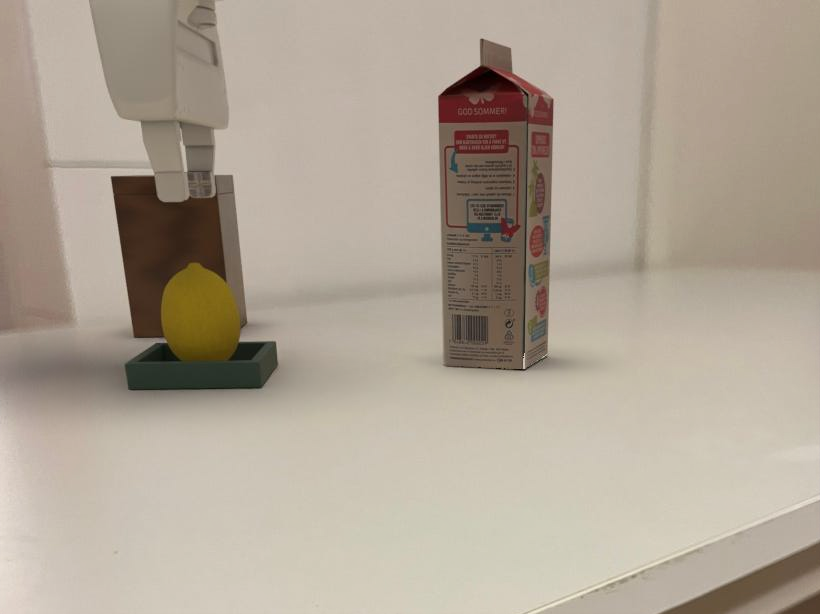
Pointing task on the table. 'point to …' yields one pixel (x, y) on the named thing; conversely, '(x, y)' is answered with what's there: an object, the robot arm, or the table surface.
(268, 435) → the table surface
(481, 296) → the juice carton
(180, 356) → the lemon
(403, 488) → the table surface
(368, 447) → the table surface
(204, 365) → the low tray
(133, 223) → the brown upright box
